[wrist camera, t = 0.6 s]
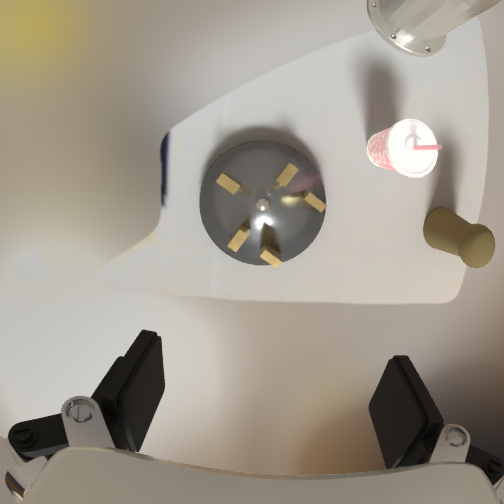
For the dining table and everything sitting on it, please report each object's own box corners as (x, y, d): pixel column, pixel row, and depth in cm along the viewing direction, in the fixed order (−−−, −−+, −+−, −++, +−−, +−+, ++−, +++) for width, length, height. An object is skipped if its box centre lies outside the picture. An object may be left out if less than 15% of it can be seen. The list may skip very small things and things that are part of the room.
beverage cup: (354, 132, 33) (401, 118, 20) (395, 122, 32) (454, 108, 19) (368, 178, 35) (420, 189, 21) (408, 167, 34) (471, 174, 21)
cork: (431, 200, 35) (478, 216, 25) (460, 215, 35) (507, 234, 25) (417, 241, 37) (459, 267, 26) (446, 253, 37) (489, 280, 27)
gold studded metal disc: (180, 216, 37) (168, 223, 33) (249, 118, 33) (246, 111, 29) (274, 282, 39) (275, 298, 35) (347, 192, 35) (357, 196, 31)
